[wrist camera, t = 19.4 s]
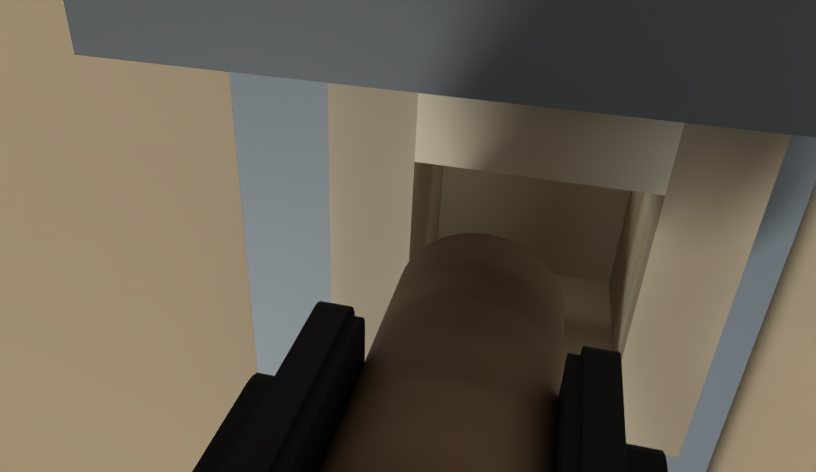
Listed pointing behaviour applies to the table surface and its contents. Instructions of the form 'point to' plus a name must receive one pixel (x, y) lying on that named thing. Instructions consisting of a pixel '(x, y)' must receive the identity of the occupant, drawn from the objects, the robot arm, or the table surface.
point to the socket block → (560, 222)
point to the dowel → (460, 366)
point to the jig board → (306, 239)
